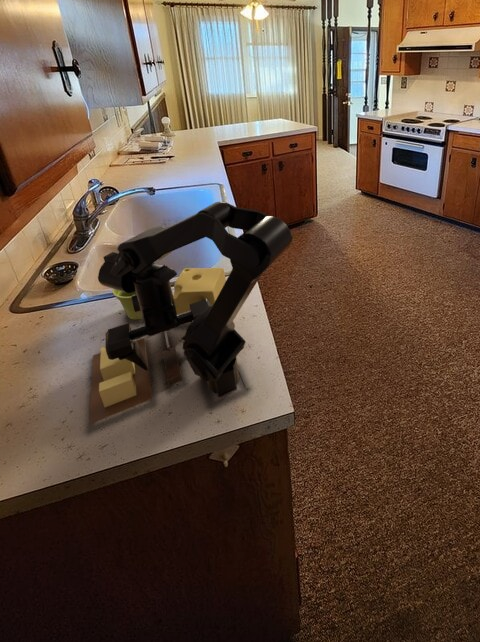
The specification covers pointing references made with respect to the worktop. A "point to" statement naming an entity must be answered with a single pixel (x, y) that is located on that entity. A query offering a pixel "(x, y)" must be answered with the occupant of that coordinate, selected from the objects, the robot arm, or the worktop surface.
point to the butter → (114, 366)
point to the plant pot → (127, 304)
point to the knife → (171, 364)
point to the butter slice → (117, 389)
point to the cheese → (197, 287)
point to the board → (142, 396)
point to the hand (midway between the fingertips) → (171, 359)
